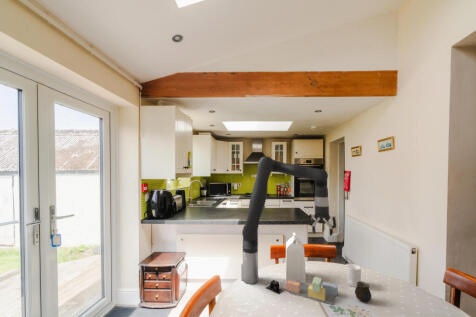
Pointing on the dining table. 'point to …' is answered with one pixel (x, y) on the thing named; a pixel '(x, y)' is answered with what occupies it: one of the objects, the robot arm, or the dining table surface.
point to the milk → (295, 260)
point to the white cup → (353, 274)
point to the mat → (304, 293)
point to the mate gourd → (363, 292)
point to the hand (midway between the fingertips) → (322, 234)
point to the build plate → (274, 287)
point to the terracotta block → (293, 286)
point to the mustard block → (317, 293)
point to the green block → (316, 284)
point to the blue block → (330, 288)
